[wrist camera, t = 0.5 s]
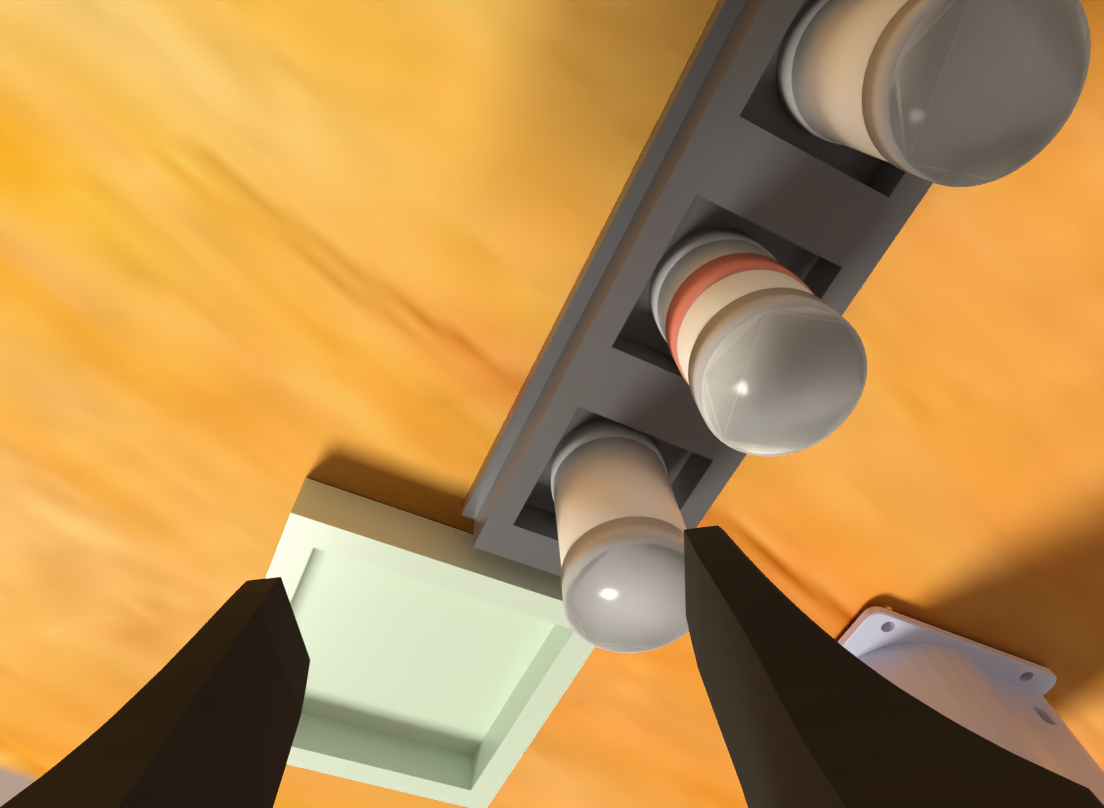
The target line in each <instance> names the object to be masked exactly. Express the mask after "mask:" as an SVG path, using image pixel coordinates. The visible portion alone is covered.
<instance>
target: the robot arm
mask: <svg viewBox="0 0 1104 808" xmlns="http://www.w3.org/2000/svg"><path fill="white" fill-rule="evenodd" d="M684 563H685V607H686V619H687V623H688V628H689V632H690V636H691V640H692V645H693V649H694V653H695V657H696V661H697V665H698V669H699V672H700V674H701V677H702V680H703V683H704V686H705V688H706V691H707V694H708V697H709V699H710V702H711V705H712V708H713V710H714V713H715V716H716V718H717V721H718V724H719V727H720V729H721V732H722V735H723V737H724V740H725V743H726V746H727V748H728V751H729V754H730V756H731V759H732V762H733V765H734V767H735V770H736V773H737V775H738V778H739V781H740V784H741V786H742V789H743V793H744V796H745V799H746V802H747V805H748V808H1104V772H1103V771H1102V769H1101V768H1100V767H1099V766H1098V764H1097V763H1096V762H1095V761H1094V759H1093V758H1092V757H1091V756H1090V754H1089V753H1088V752H1087V750H1086V749H1085V748H1084V747H1083V745H1082V744H1081V743H1080V742H1079V740H1078V739H1077V738H1076V737H1075V735H1074V734H1073V733H1072V732H1071V730H1070V729H1069V728H1068V727H1067V725H1066V724H1065V723H1064V722H1063V720H1062V719H1061V718H1060V716H1059V715H1058V714H1057V713H1056V711H1055V710H1054V709H1053V708H1052V706H1051V705H1050V704H1049V703H1048V701H1047V700H1046V699H1045V698H1044V696H1043V695H1045V694H1046V693H1047V692H1048V691H1049V690H1050V689H1051V688H1052V687H1053V686H1054V685H1055V683H1056V680H1057V678H1056V676H1055V675H1054V673H1053V672H1052V671H1051V670H1050V669H1048V668H1046V667H1043V666H1040V665H1038V664H1035V663H1032V662H1030V661H1027V660H1024V659H1021V658H1019V657H1016V656H1013V655H1011V654H1008V653H1005V652H1002V651H1000V650H997V649H994V648H991V647H989V646H986V645H983V644H981V643H978V642H975V641H972V640H970V639H967V638H964V637H962V636H959V635H956V634H953V633H951V632H948V631H945V630H943V629H940V628H937V627H934V626H932V625H929V624H926V623H923V622H921V621H918V620H915V619H913V618H910V617H907V616H904V615H902V614H899V613H896V612H894V611H891V610H888V609H885V608H883V607H878V606H875V607H870V608H868V609H866V610H865V611H864V612H863V613H862V614H861V615H860V616H859V617H858V619H857V620H856V621H855V622H854V623H853V624H852V625H851V627H850V628H849V629H848V630H847V631H846V632H845V634H844V635H843V636H842V637H841V638H840V639H839V641H838V642H837V641H836V640H835V639H833V638H832V637H831V636H830V635H829V634H827V633H826V632H825V631H824V630H823V629H822V628H820V627H819V626H818V625H817V624H816V623H815V622H813V621H812V620H811V619H810V618H809V617H808V616H807V615H806V614H805V613H803V612H802V611H801V610H800V609H799V608H798V607H797V606H796V605H795V604H794V603H793V602H792V601H791V600H790V599H789V598H787V597H786V596H785V595H784V594H783V593H782V592H781V591H780V590H779V589H778V588H777V587H776V586H775V585H774V584H773V583H772V582H771V581H770V580H769V579H768V578H767V577H766V576H765V575H764V574H763V573H762V572H761V571H760V570H759V569H758V568H757V567H756V566H755V564H754V563H753V562H752V561H751V560H750V559H749V558H748V557H747V556H746V555H745V554H744V553H743V552H742V550H741V549H740V548H739V547H738V546H737V545H736V544H735V543H734V541H733V540H732V539H731V538H730V537H729V536H728V535H727V533H726V532H725V531H724V530H723V529H722V528H720V527H719V526H710V527H701V528H693V529H684ZM886 622H887V623H886ZM884 623H885V624H884ZM309 665H310V658H309V655H308V652H307V649H306V646H305V643H304V641H303V638H302V635H301V632H300V629H299V627H298V624H297V621H296V618H295V615H294V612H293V610H292V607H291V604H290V601H289V598H288V595H287V593H286V590H285V587H284V584H283V581H282V578H281V577H275V578H267V579H258V580H250V581H246V582H245V583H244V584H243V585H242V586H241V587H240V588H239V589H238V590H237V591H236V592H235V593H234V594H233V595H232V596H231V597H230V598H229V599H228V601H227V602H226V603H225V604H224V605H223V606H222V607H221V608H220V609H219V610H218V611H217V612H216V613H215V614H214V615H213V616H212V617H211V619H210V620H209V621H208V622H207V623H206V624H205V625H204V626H203V627H202V628H201V629H200V630H199V631H198V632H197V633H196V634H195V635H194V637H193V638H192V639H191V640H190V641H189V642H188V643H187V644H186V645H185V646H184V647H183V648H182V649H181V650H180V651H179V652H178V653H177V654H176V655H175V656H174V657H173V658H172V659H171V660H170V661H169V662H168V663H167V665H166V666H165V667H164V668H163V669H162V670H161V671H160V672H159V673H158V674H156V675H155V676H154V677H153V678H152V679H151V680H150V681H149V682H148V683H147V684H146V685H145V686H144V687H143V688H142V689H141V690H140V691H139V692H138V693H137V694H136V695H135V696H134V697H133V698H131V699H130V700H129V701H128V702H127V703H126V704H125V705H124V706H123V707H122V708H121V709H120V710H119V711H118V712H117V713H116V714H115V715H114V716H113V717H112V718H110V719H109V720H108V721H107V722H106V723H105V724H104V725H103V726H102V727H100V728H99V729H98V730H97V731H96V732H95V733H94V734H92V735H91V736H90V737H89V738H88V739H87V740H86V741H84V742H83V743H82V744H81V745H80V746H78V747H77V748H76V749H75V750H73V751H72V752H71V753H70V754H69V755H67V756H66V757H65V758H64V759H63V760H61V761H60V762H59V763H58V764H57V765H55V766H54V767H53V768H52V769H50V770H49V771H48V772H47V773H45V774H44V775H43V776H42V777H40V778H39V779H38V780H36V781H35V782H34V783H32V784H31V785H30V786H28V787H27V788H25V789H24V790H23V791H21V792H20V793H19V794H17V795H16V796H15V797H13V798H12V799H11V800H9V801H8V802H7V803H5V804H4V805H3V806H1V807H0V808H273V805H274V802H275V798H276V795H277V792H278V789H279V786H280V782H281V779H282V776H283V773H284V770H285V766H286V763H287V760H288V757H289V754H290V750H291V747H292V744H293V740H294V737H295V734H296V730H297V727H298V724H299V720H300V717H301V712H302V707H303V702H304V696H305V691H306V685H307V678H308V672H309Z"/></svg>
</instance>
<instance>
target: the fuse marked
mask: <svg viewBox="0 0 1104 808" xmlns="http://www.w3.org/2000/svg"><path fill="white" fill-rule="evenodd" d="M649 305H650V309H651V313H652V316H653V318H654V320H655V322H656V324H657V326H658V328H659V330H660V332H661V334H662V336H663V338H664V339H665V340H666V342H667V344H668V347H669V350H670V352H671V354H672V356H673V358H674V360H675V362H676V364H677V366H678V368H679V370H680V372H681V374H682V376H683V378H684V379H685V381H686V382H687V383H688V385H689V386H690V391H691V393H692V396H693V399H694V401H695V403H696V405H697V407H698V409H699V411H700V413H701V415H702V417H703V419H704V420H705V422H706V424H707V426H708V428H709V429H710V430H711V431H712V433H713V434H714V435H715V436H716V437H717V438H718V439H719V440H720V441H722V442H723V443H725V444H726V445H727V446H729V447H731V448H733V449H735V450H737V451H740V452H743V453H746V454H751V455H756V456H780V455H787V454H791V453H795V452H798V451H801V450H803V449H806V448H809V447H811V446H813V445H815V444H817V443H818V442H820V441H822V440H823V439H825V438H826V437H828V436H829V435H830V434H831V433H833V432H834V431H835V430H836V429H837V428H838V427H839V426H840V425H841V424H843V423H844V421H845V420H846V419H847V418H848V416H849V415H850V414H851V413H852V411H853V409H854V408H855V406H856V405H857V403H858V401H859V399H860V397H861V394H862V391H863V389H864V385H865V381H866V375H867V359H866V353H865V349H864V346H863V343H862V341H861V339H860V337H859V335H858V334H857V332H856V330H855V329H854V328H853V327H852V326H851V325H850V324H849V322H847V321H846V320H845V319H844V318H843V317H842V316H841V315H840V314H838V313H837V312H836V311H835V310H834V309H833V308H832V307H831V306H829V305H828V304H827V303H826V302H825V301H823V300H822V299H820V298H819V297H817V296H815V295H814V294H813V292H812V291H811V290H810V289H809V287H808V286H807V285H806V284H805V283H804V282H802V281H801V280H800V279H799V278H798V277H797V276H796V275H795V274H793V273H792V272H791V271H790V270H789V269H788V268H787V267H785V266H784V265H783V264H782V263H780V262H778V261H777V260H776V259H775V258H774V256H773V255H772V254H771V253H770V252H769V251H768V250H766V249H765V248H764V247H763V246H762V245H761V244H760V243H759V242H757V241H756V240H755V239H754V238H752V237H751V236H749V235H747V234H746V233H743V232H741V231H738V230H734V229H730V228H709V229H704V230H700V231H697V232H694V233H692V234H690V235H687V236H686V237H684V238H682V239H681V240H679V241H678V242H677V243H675V244H674V245H673V246H672V247H671V248H670V249H669V250H668V251H667V252H666V253H665V254H664V255H663V257H662V258H661V259H660V261H659V262H658V264H657V266H656V268H655V270H654V272H653V275H652V278H651V281H650V287H649Z"/></svg>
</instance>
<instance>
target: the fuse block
mask: <svg viewBox="0 0 1104 808" xmlns="http://www.w3.org/2000/svg"><path fill="white" fill-rule="evenodd" d="M809 1H810V0H719V2H718V4H717V6H716V8H715V10H714V12H713V13H712V15H711V17H710V19H709V21H708V23H707V25H706V27H705V29H704V31H703V33H702V35H701V37H700V39H699V41H698V43H697V45H696V47H695V49H694V51H693V53H692V55H691V57H690V59H689V61H688V63H687V65H686V67H685V68H684V70H683V72H682V74H681V76H680V78H679V80H678V82H677V84H676V86H675V88H674V90H673V92H672V94H671V96H670V98H669V100H668V102H667V104H666V106H665V108H664V110H663V112H662V114H661V116H660V118H659V120H658V121H657V123H656V125H655V127H654V129H653V131H652V133H651V135H650V137H649V139H648V141H647V143H646V145H645V147H644V149H643V151H642V153H641V155H640V157H639V159H638V161H637V163H636V165H635V167H634V169H633V171H632V173H631V174H630V176H629V178H628V180H627V182H626V184H625V186H624V188H623V190H622V192H621V194H620V196H619V198H618V200H617V202H616V204H615V206H614V208H613V210H612V212H611V214H610V216H609V218H608V220H607V222H606V224H605V226H604V227H603V229H602V231H601V233H600V235H599V237H598V239H597V241H596V243H595V245H594V247H593V249H592V251H591V253H590V255H589V257H588V259H587V261H586V263H585V265H584V267H583V269H582V271H581V273H580V275H579V277H578V279H577V280H576V282H575V284H574V286H573V288H572V290H571V292H570V294H569V296H568V298H567V300H566V302H565V304H564V306H563V308H562V310H561V312H560V314H559V316H558V318H557V320H556V322H555V324H554V326H553V328H552V330H551V332H550V333H549V335H548V337H547V339H546V341H545V343H544V345H543V347H542V349H541V351H540V353H539V355H538V357H537V359H536V361H535V363H534V365H533V367H532V369H531V371H530V373H529V375H528V377H527V379H526V381H525V383H524V385H523V386H522V388H521V390H520V392H519V394H518V396H517V398H516V400H515V402H514V404H513V406H512V408H511V410H510V412H509V414H508V416H507V418H506V420H505V422H504V424H503V426H502V428H501V430H500V432H499V434H498V436H497V438H496V439H495V441H494V443H493V445H492V447H491V449H490V451H489V453H488V455H487V457H486V459H485V461H484V463H483V465H482V467H481V469H480V471H479V473H478V475H477V477H476V479H475V481H474V483H473V485H472V487H471V489H470V491H469V493H468V494H467V496H466V498H465V500H464V502H463V504H462V516H465V517H468V518H471V519H474V535H473V547H475V548H478V549H480V550H483V551H486V552H489V553H492V554H495V555H498V556H501V557H504V558H507V559H510V560H513V561H516V562H519V563H522V564H525V565H528V566H531V567H534V568H537V569H540V570H543V571H546V572H549V573H552V574H555V575H558V576H561V559H560V550H559V541H558V532H557V522H556V513H555V504H554V500H553V497H552V491H551V482H550V461H551V458H552V454H553V452H554V450H555V448H556V447H557V445H558V444H559V442H560V441H561V440H562V439H563V438H564V437H565V436H566V435H567V434H568V433H569V432H571V431H572V430H574V429H575V428H577V427H579V426H581V425H583V424H585V423H588V422H591V421H595V420H600V419H611V420H613V421H616V422H618V423H621V424H623V425H626V426H628V427H631V428H633V429H636V430H638V431H641V432H643V433H646V434H648V435H651V436H652V437H653V439H654V440H655V441H656V443H657V445H658V447H659V449H660V452H661V455H662V458H663V460H664V463H665V466H666V469H667V473H668V479H669V482H670V485H671V487H672V490H673V493H674V496H675V499H676V501H677V504H678V507H679V510H680V512H681V515H682V518H683V521H684V524H685V526H686V529H693V528H696V527H697V525H698V524H699V523H700V521H701V520H702V518H703V517H704V515H705V514H706V512H707V511H708V509H709V508H710V507H711V505H712V504H713V502H714V501H715V499H716V498H717V496H718V495H719V493H720V492H721V491H722V489H723V488H724V486H725V485H726V483H727V482H728V480H729V479H730V477H731V476H732V475H733V473H734V472H735V470H736V469H737V467H738V466H739V464H740V463H741V461H742V460H743V459H744V457H745V456H746V453H743V452H740V451H737V450H735V449H733V448H731V447H729V446H727V445H726V444H725V443H723V442H722V441H720V440H719V439H718V438H717V437H716V436H715V435H714V434H713V433H712V431H711V430H710V429H709V428H708V426H707V424H706V422H705V420H704V419H703V417H702V415H701V413H700V411H699V409H698V407H697V405H696V403H695V401H694V399H693V396H692V393H691V391H690V386H689V385H688V383H687V382H686V381H685V379H684V378H683V376H682V374H681V372H680V370H679V368H678V366H677V364H676V362H675V360H674V358H673V356H672V354H671V352H670V350H669V347H668V344H667V342H666V340H665V339H664V338H663V336H662V334H661V332H660V330H659V328H658V326H657V324H656V322H655V320H654V318H653V316H652V313H651V309H650V305H649V287H650V281H651V278H652V275H653V272H654V270H655V268H656V266H657V264H658V262H659V261H660V259H661V258H662V257H663V255H664V254H665V253H666V252H667V251H668V250H669V249H670V248H671V247H672V246H673V245H674V244H675V243H677V242H678V241H679V240H681V239H682V238H684V237H686V236H687V235H690V234H692V233H694V232H697V231H700V230H704V229H709V228H730V229H734V230H738V231H741V232H743V233H746V234H747V235H749V236H751V237H752V238H754V239H755V240H756V241H757V242H759V243H760V244H761V245H762V246H763V247H764V248H765V249H766V250H768V251H769V252H770V253H771V254H772V255H773V256H774V258H775V259H776V260H777V261H778V262H780V263H782V264H783V265H784V266H785V267H787V268H788V269H789V270H790V271H791V272H792V273H793V274H795V275H796V276H797V277H798V278H799V279H800V280H801V281H802V282H804V283H805V284H806V285H807V286H808V287H809V289H810V290H811V291H812V292H813V294H814V295H815V296H817V297H819V298H820V299H822V300H823V301H825V302H826V303H827V304H828V305H829V306H831V307H832V308H833V309H834V310H835V311H836V312H837V313H838V314H840V315H841V316H842V314H843V313H844V312H845V310H846V309H847V307H848V306H849V304H850V303H851V301H852V300H853V298H854V297H855V296H856V294H857V293H858V291H859V290H860V288H861V287H862V285H863V284H864V282H865V281H866V279H867V278H868V277H869V275H870V274H871V272H872V271H873V269H874V268H875V266H876V265H877V263H878V262H879V261H880V259H881V258H882V256H883V255H884V253H885V252H886V250H887V249H888V247H889V246H890V245H891V243H892V242H893V240H894V239H895V237H896V236H897V234H898V233H899V231H900V230H901V229H902V227H903V226H904V224H905V223H906V221H907V220H908V218H909V217H910V215H911V214H912V213H913V211H914V210H915V208H916V207H917V205H918V204H919V202H920V201H921V199H922V198H923V197H924V195H925V194H926V192H927V191H928V189H929V188H930V186H931V185H932V183H933V182H930V181H928V180H925V179H923V178H920V177H917V176H915V175H912V174H910V173H907V172H905V171H903V170H901V169H898V168H897V167H895V166H894V165H892V164H891V163H889V162H886V161H884V160H881V159H878V158H876V157H873V156H871V155H868V154H865V153H863V152H860V151H858V150H855V149H852V148H850V147H847V146H845V145H839V144H835V143H831V142H828V141H825V140H823V139H820V138H818V137H815V136H813V135H811V134H808V133H806V132H805V131H803V130H802V129H800V128H799V127H798V126H796V125H795V124H794V123H793V122H792V121H791V119H790V118H789V117H788V116H787V114H786V112H785V111H784V109H783V107H782V105H781V102H780V100H779V96H778V92H777V87H776V62H777V56H778V52H779V48H780V45H781V43H782V40H783V37H784V35H785V33H786V31H787V29H788V27H789V26H790V24H791V23H792V21H793V19H794V18H795V17H796V15H797V14H798V13H799V12H800V10H801V9H802V8H803V7H804V6H805V5H806V4H807V3H808V2H809Z"/></svg>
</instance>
